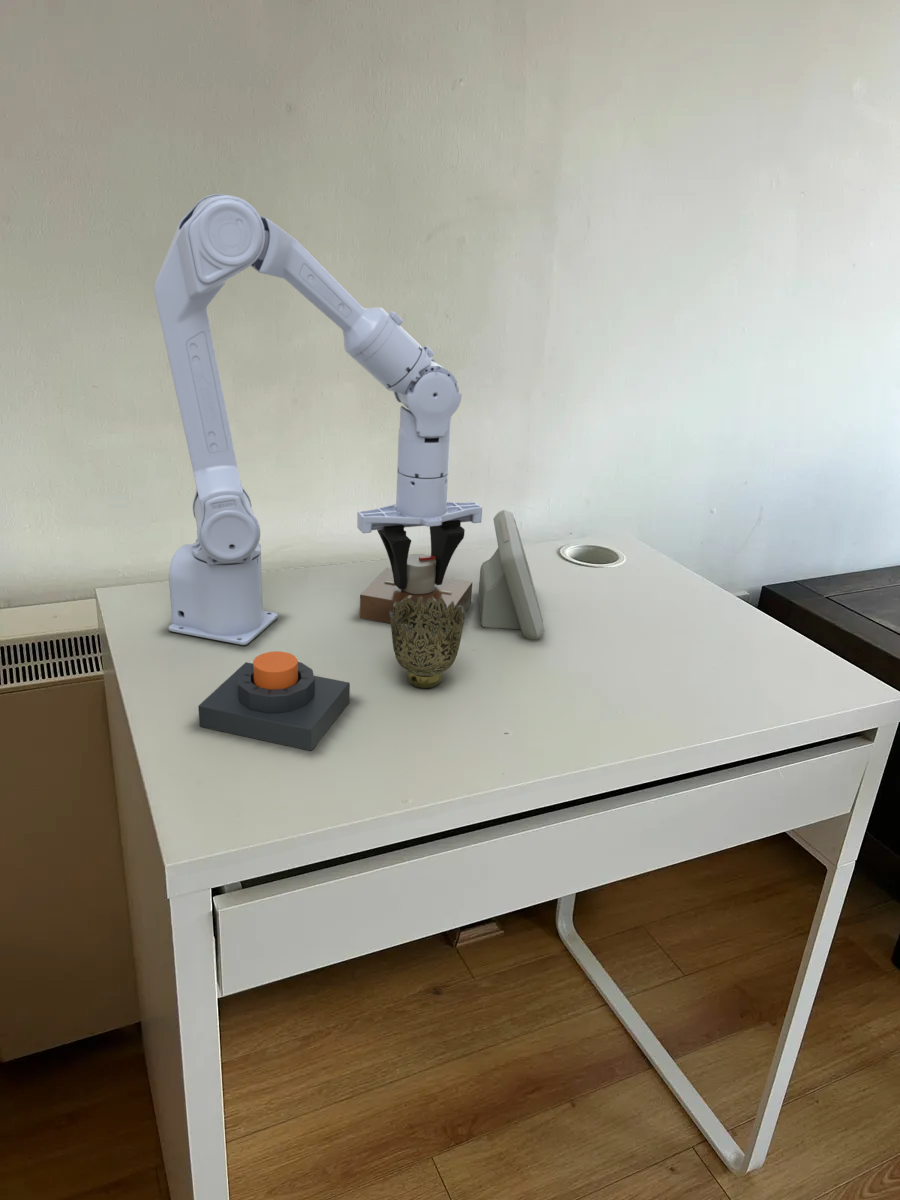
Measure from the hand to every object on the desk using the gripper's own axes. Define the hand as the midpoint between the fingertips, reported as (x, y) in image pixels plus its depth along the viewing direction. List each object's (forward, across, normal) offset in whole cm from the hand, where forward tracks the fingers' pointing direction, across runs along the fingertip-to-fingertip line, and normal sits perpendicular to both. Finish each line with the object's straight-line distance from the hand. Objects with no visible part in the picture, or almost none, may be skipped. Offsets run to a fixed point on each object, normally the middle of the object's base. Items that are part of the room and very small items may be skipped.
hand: (417, 583), depth 106 cm
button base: (+3, -21, -18) cm, 28 cm away
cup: (+4, -6, -16) cm, 18 cm away
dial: (0, 0, 0) cm, 0 cm away
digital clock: (+4, +11, -4) cm, 12 cm away
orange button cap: (0, -21, -18) cm, 27 cm away
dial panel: (+3, 0, 0) cm, 3 cm away
